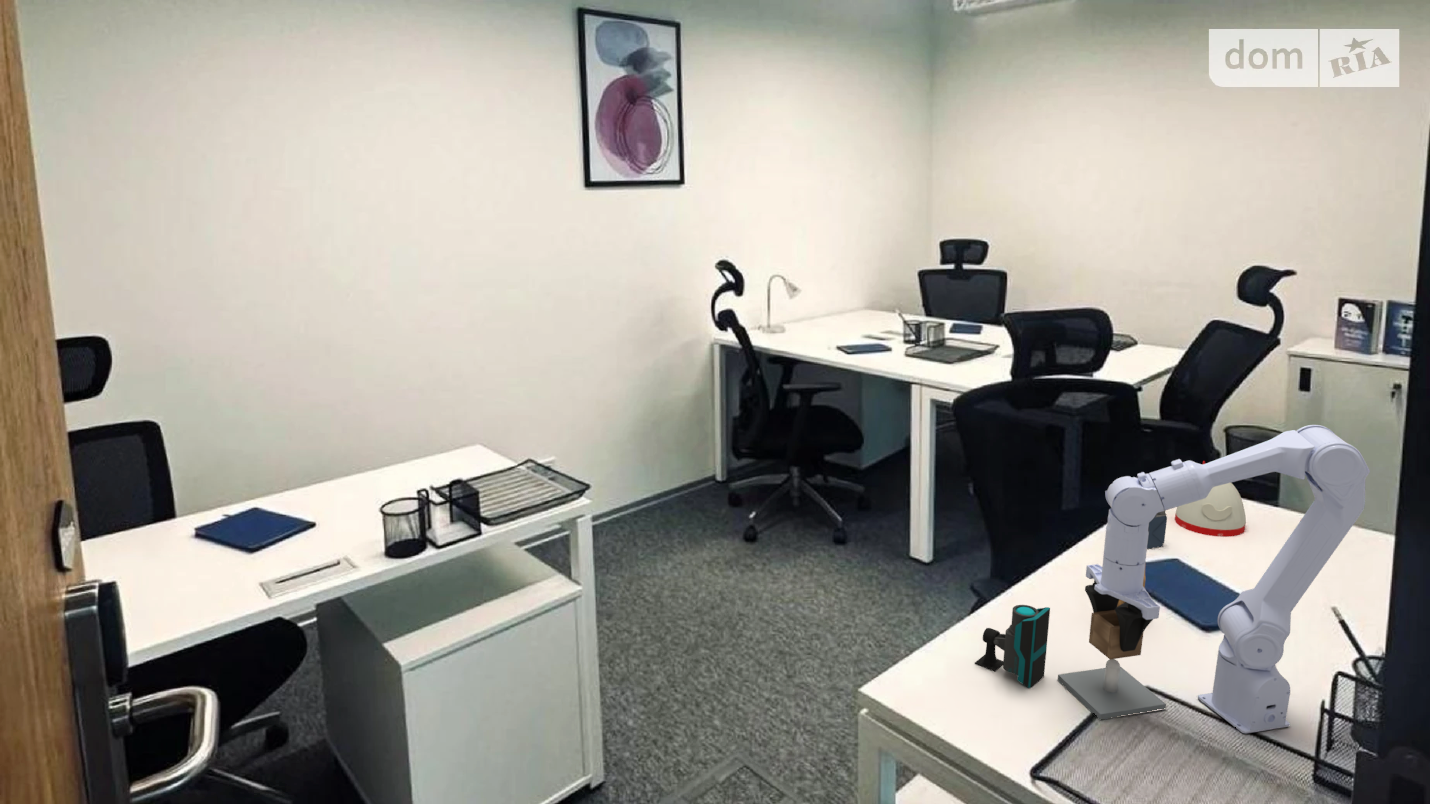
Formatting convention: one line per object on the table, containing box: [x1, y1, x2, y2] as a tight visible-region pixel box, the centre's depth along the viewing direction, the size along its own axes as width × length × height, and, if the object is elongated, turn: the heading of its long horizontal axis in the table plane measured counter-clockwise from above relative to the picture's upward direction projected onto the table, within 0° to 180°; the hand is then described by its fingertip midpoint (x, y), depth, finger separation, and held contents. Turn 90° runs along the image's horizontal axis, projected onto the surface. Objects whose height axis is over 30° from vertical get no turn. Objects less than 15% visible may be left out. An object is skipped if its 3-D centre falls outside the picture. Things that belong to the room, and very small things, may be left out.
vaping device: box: [1147, 510, 1168, 550], centre depth 191 cm, size 3×5×12 cm, turn 107°
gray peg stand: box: [1057, 659, 1167, 720], centre depth 139 cm, size 11×11×6 cm
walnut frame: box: [1088, 610, 1144, 660], centre depth 137 cm, size 5×5×5 cm
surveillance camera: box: [974, 604, 1051, 689], centre depth 145 cm, size 6×12×10 cm
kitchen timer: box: [1174, 460, 1247, 538], centre depth 201 cm, size 14×14×15 cm
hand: (1115, 640), depth 137 cm, fingers closed on walnut frame, 5 cm apart
